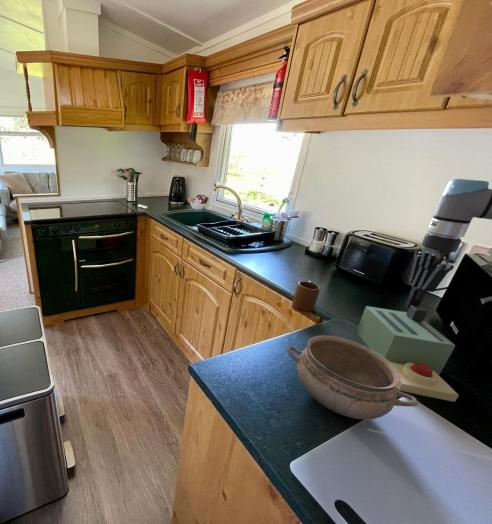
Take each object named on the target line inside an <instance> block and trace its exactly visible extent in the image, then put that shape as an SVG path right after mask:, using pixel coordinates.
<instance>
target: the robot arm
mask: <svg viewBox="0 0 492 524" xmlns="http://www.w3.org/2000/svg"><path fill="white" fill-rule="evenodd" d="M489 185H490V182H489V181H487V180H479V179H478V180H477V179H468V178H467V179H465V178H454V179H451V180H449V182H448V183H447V185H446V186H445V189H444V191H443V193H442V194H441V197H440V200H439V201H438V204H437V206H436V209H435V211H434V213H433V217H432V219H431V222H430V223H429V226H428V228H427V233H425V234H424V237H423V239H422V241H421V246H422V247H424V248H423V249H422V250H421V251H415V252H414V253H413V254H414V260H413V263H412V268H411V271H410V275H409V279H408V282H409V283H410V284H411V290H410V292H409V295H408V296H407V299H406V302H405V304H404V307H405V308H406V309H409V307H410V305H414V306H420V305H421V303H422V301H423V300H424V298H425V296H426V293H428V292H429V293H434V292H435V290H437V288H438V287H439V285H440V284H441V283H442V281H443V280H444V279H445V277H447V275H448V273H450V272H451V271H452V270H453V269H454V268H455V266H454V265H453V264H450V263H449V261H450V258H451V257H450V256H451V253H455V252H457V251H458V249H459V247H460V245H461V243H462V239H461V238H464V237H465V235H466V233H467V232H468V229H469V226H470V224H471V222H472V220H473V219H474V218H477V219H485V220H490V221H491V220H492V188H489Z"/></svg>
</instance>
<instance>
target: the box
mask: <svg viewBox="0 0 492 524" xmlns="http://www.w3.org/2000/svg"><path fill="white" fill-rule="evenodd" d="M390 363H391V364H392V365H393V366H394V367H395V368H396V369H397V370H398V372H399V374H400V377H401V381H400V384H399V385H398V386H396V388H397V390H398V391H400V392H403V393H410V394H413V395H414V394H415V395H419V396H425V397H429V398H434V399H439V400H443V401H448V402H453V403H455V402H456V401H457V399H458V398H459V397H460V396H459V394H458V393H457V392H456V390H454V389H453V388H452V387H451V386H450V385H449V384H448V383H447V382H446V381H445V380H444V379H443V378H442V377H441V376H440V375H438V374H437V373H436V372H435V371H434V370H433V372H432V374H431V376H430V377H425V376H422V375H419V374H417V373H416V372H414V371H413V370H412V367H413V365H414V363H406V364H405V365H403V364H397V363H392V362H390Z"/></svg>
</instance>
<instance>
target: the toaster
mask: <svg viewBox="0 0 492 524" xmlns="http://www.w3.org/2000/svg"><path fill="white" fill-rule="evenodd" d="M407 312H408V311H401V310H400V311H399V310H394V309H388V308H381V307H375V306H369V305H368V306H367V305H366V306H365V308H364V310H363V313H362V315H361V318H360V321H359V323H358V326H357V328H356V330H355V332H356V334H357V335H358V336H359V337H360V338H361V340H362V341H363V343H364V344H365V345H366V347H367V348H369V349H371V350H373V351H375V352H377V353H378V354H380V355H381V356H383V357H384V358H385V359H387V360H388V361H389V362H392V363H397V364H403V365H405V364H406V363H422V364H425V365H427V366H429V367H430V368H431V369H432V370H434V371H435V372H436V373H437V374H438V375H439V376H440V375H441V373H442V371H443V370H444V368H445V365H446V364H447V362H448V360H449V358H450V356H451V355H452V353H453V351H454V349H455V347H456V345H455V344H454V343H453V342H452V341H451V340H450V339H448V338H447V337H445V335H443V334H441V333H440V332H439V331H438V330H437V329H436V328H434V327H433V326H431V325H430V324H429V323H428V322H426V320H424V321H417V320H412V319H410V318H409V317H408V316H407V315H406V314H407Z"/></svg>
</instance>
